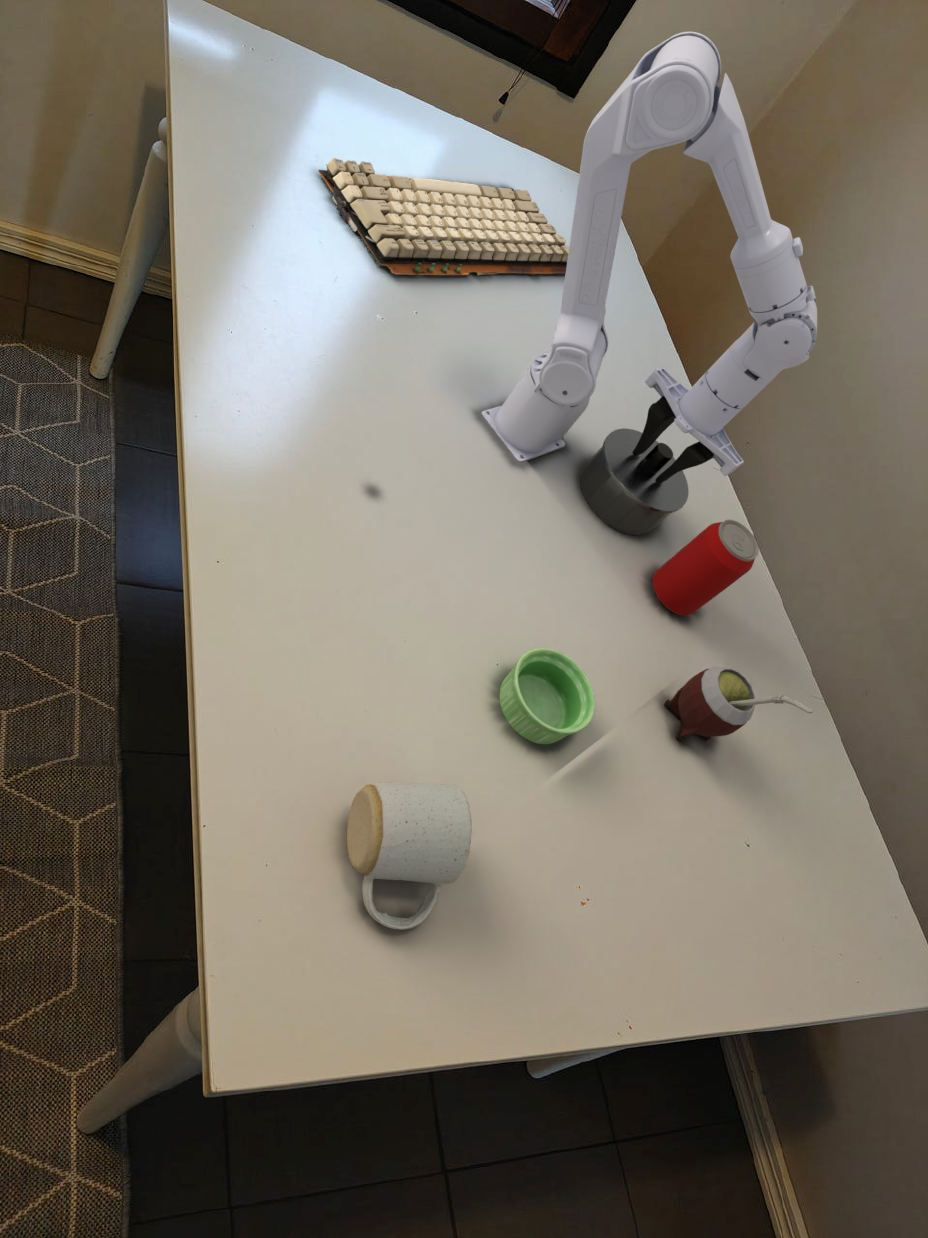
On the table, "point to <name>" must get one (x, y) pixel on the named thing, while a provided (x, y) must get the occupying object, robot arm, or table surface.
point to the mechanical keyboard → (445, 224)
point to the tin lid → (644, 472)
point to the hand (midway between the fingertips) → (649, 466)
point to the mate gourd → (717, 703)
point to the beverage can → (705, 567)
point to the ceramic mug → (408, 840)
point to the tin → (615, 500)
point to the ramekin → (547, 696)
